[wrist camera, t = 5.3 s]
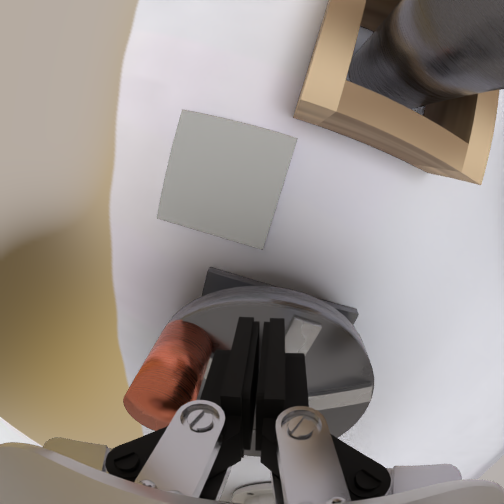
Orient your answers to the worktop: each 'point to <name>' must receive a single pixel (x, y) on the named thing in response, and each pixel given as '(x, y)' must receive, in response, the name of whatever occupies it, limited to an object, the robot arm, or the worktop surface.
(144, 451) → the robot arm
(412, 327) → the worktop surface
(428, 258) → the worktop surface
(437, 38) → the dark grey rounded cylinder
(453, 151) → the eye block
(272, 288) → the handwheel
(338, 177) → the worktop surface
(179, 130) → the mat
